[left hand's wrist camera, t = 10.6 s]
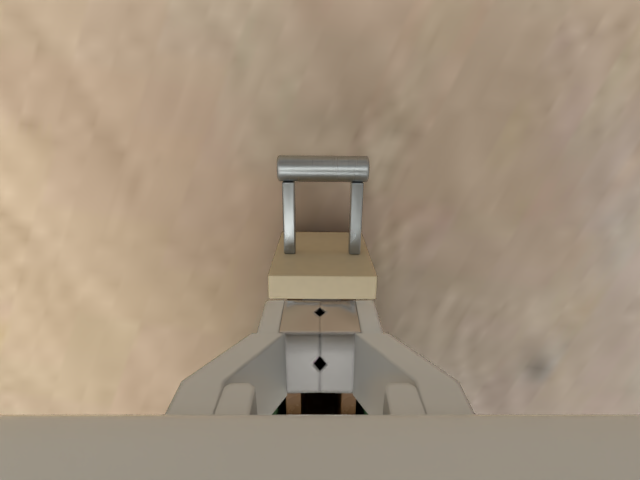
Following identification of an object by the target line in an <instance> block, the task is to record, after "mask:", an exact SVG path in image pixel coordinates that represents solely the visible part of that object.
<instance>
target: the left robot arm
mask: <svg viewBox="0 0 640 480" xmlns="http://www.w3.org/2000/svg"><path fill="white" fill-rule="evenodd" d="M287 393H353V396H354V397H355V398H356V400H357V401H358V402H359V403H360V405H361V406H362V407H363V408H364V410H365V411H366V412H367V413H368V415H272V414H273V412H274V411H275V410H276V409H277V407H278V406H279V405H280V404H281V402H282V401H283V400H284V399H285V397H286V396H287ZM0 480H640V415H475V413H474V411H473V409H472V407H471V405H470V403H469V401H468V399H467V397H466V395H465V393H464V391H463V389H462V387H461V385H460V383H459V382H458V381H457V380H455V379H454V378H452V377H451V376H450V375H448V374H447V373H445V372H444V371H442V370H441V369H439V368H438V367H437V366H435V365H434V364H432V363H431V362H429V361H428V360H426V359H425V358H424V357H422V356H421V355H419V354H418V353H416V352H415V351H413V350H412V349H410V348H409V347H408V346H406V345H405V344H403V343H402V342H400V341H399V340H397V339H396V338H395V337H393V336H392V335H390V334H389V333H383V331H382V327H381V324H380V320H379V317H378V313H377V310H376V306H375V303H374V301H373V300H357V301H355V300H351V301H296V300H285V301H284V300H267V301H266V302H265V306H264V309H263V313H262V317H261V320H260V324H259V327H258V331H257V333H251V334H250V335H248V336H247V337H245V338H244V339H243V340H241V341H240V342H238V343H237V344H235V345H234V346H232V347H231V348H229V349H228V350H227V351H225V352H224V353H222V354H221V355H219V356H218V357H216V358H215V359H213V360H212V361H211V362H209V363H208V364H206V365H205V366H203V367H202V368H200V369H199V370H197V371H196V372H195V373H193V374H192V375H190V376H189V377H187V378H186V379H184V380H183V381H182V382H181V384H180V386H179V388H178V390H177V392H176V394H175V396H174V398H173V400H172V402H171V404H170V406H169V408H168V410H167V411H166V413H165V415H0Z"/></svg>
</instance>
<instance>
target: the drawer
mask: <svg viewBox="0 0 640 480" xmlns="http://www.w3.org/2000/svg"><path fill="white" fill-rule="evenodd" d="M277 177H278V180H279V181H283V183H282V196H283V232H282V233H281V237H280V240H279V243H278V246H277V249H276V252H275V255H274V258H273V261H272V264H271V267H270V270H269V273H268V297H269V299H287V300H296V301H351V300H355V301H356V299H376V290H377V274H376V272H375V269H374V266H373V263H372V261H371V258H370V255H369V252H368V249H367V247H366V244H365V241H364V238H363V236H362V233H361V227H362V206H363V185H364V184H363V182H367V181H368V177H369V159H368V157H367V156H278V158H277ZM295 181H302V182H351V185H350V213H349V232H296V216H295ZM355 413H356V398H355V397H354V396H353V393H287V396H286V415H355Z"/></svg>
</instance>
